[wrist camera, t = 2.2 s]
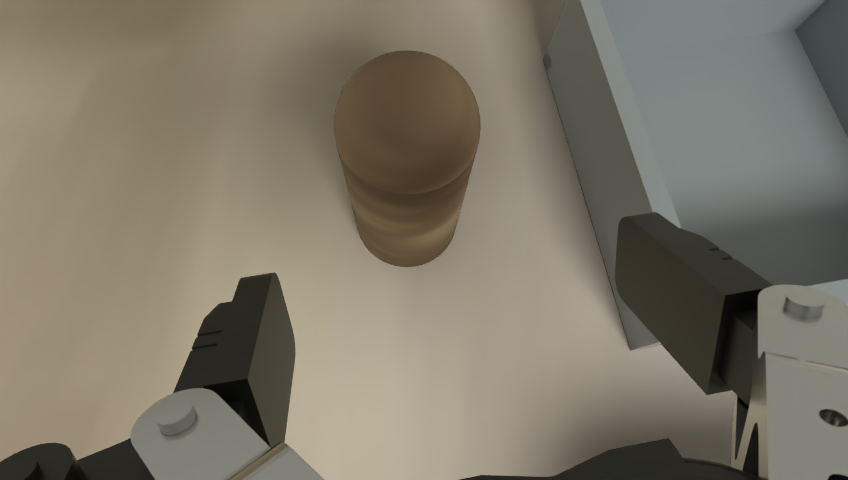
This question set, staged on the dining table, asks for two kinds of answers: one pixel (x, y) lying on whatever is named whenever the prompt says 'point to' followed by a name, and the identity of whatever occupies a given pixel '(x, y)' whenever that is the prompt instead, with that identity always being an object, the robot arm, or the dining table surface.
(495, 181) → the dining table surface
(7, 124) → the dining table surface
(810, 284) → the bin
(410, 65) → the pepper mill
